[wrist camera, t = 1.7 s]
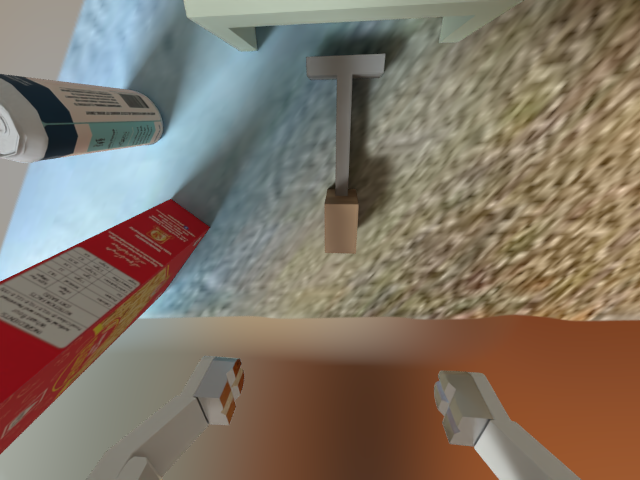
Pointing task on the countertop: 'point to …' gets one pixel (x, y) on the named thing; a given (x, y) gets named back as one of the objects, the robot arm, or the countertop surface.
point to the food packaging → (83, 306)
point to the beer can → (71, 119)
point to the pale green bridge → (337, 15)
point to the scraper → (343, 143)
